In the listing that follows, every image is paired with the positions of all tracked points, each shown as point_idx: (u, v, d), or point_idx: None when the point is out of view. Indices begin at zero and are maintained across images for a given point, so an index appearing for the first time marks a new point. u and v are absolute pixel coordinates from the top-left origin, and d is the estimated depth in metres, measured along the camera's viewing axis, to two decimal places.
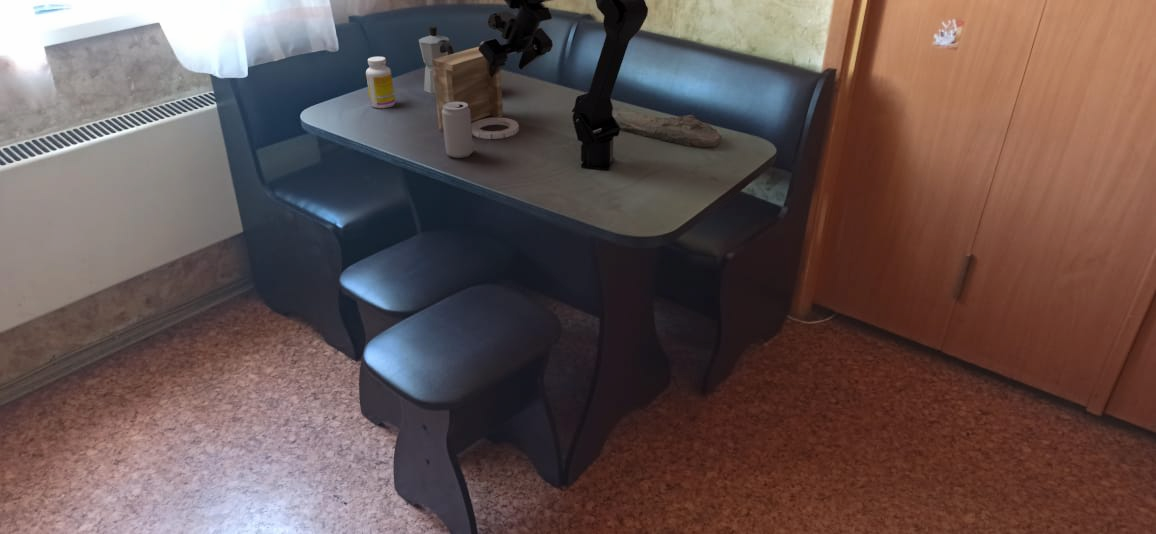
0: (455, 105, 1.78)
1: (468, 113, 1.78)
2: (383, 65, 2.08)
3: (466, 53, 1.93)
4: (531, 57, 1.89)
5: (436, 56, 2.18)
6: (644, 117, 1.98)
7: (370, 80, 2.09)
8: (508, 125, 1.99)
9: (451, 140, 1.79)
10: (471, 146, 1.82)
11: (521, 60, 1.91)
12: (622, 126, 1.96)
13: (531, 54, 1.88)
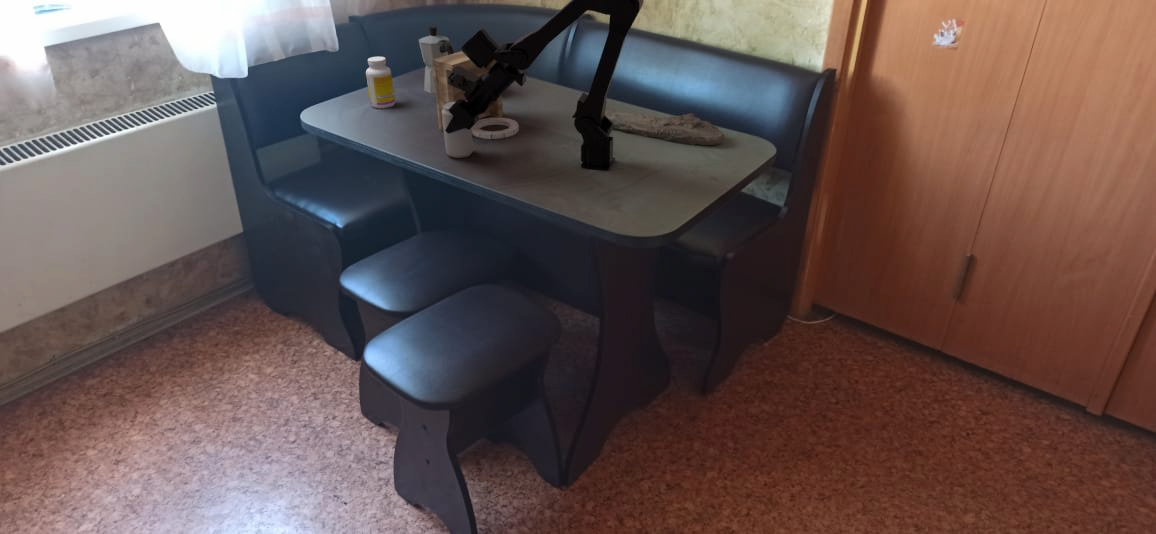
0: None
1: None
2: (383, 65, 2.08)
3: None
4: None
5: (435, 56, 2.18)
6: (643, 117, 1.97)
7: (370, 80, 2.09)
8: (508, 125, 1.99)
9: (451, 140, 1.79)
10: (471, 146, 1.82)
11: None
12: (622, 127, 1.95)
13: None
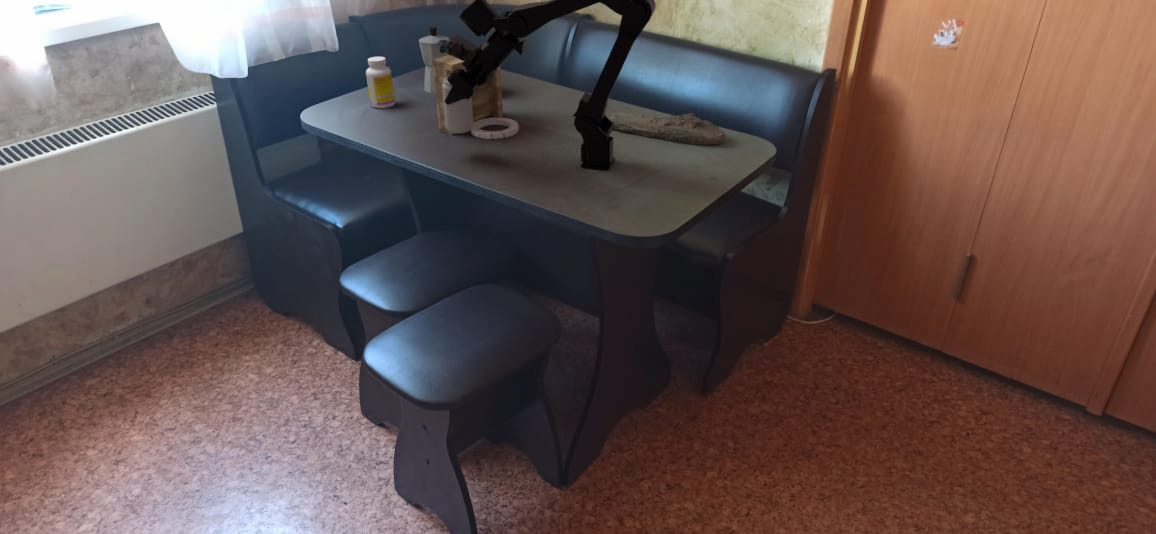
0: None
1: None
2: (383, 65, 2.08)
3: None
4: None
5: (436, 56, 2.18)
6: (642, 117, 1.97)
7: (370, 80, 2.09)
8: (508, 125, 1.99)
9: (452, 115, 1.76)
10: (471, 121, 1.80)
11: None
12: (622, 128, 1.95)
13: None
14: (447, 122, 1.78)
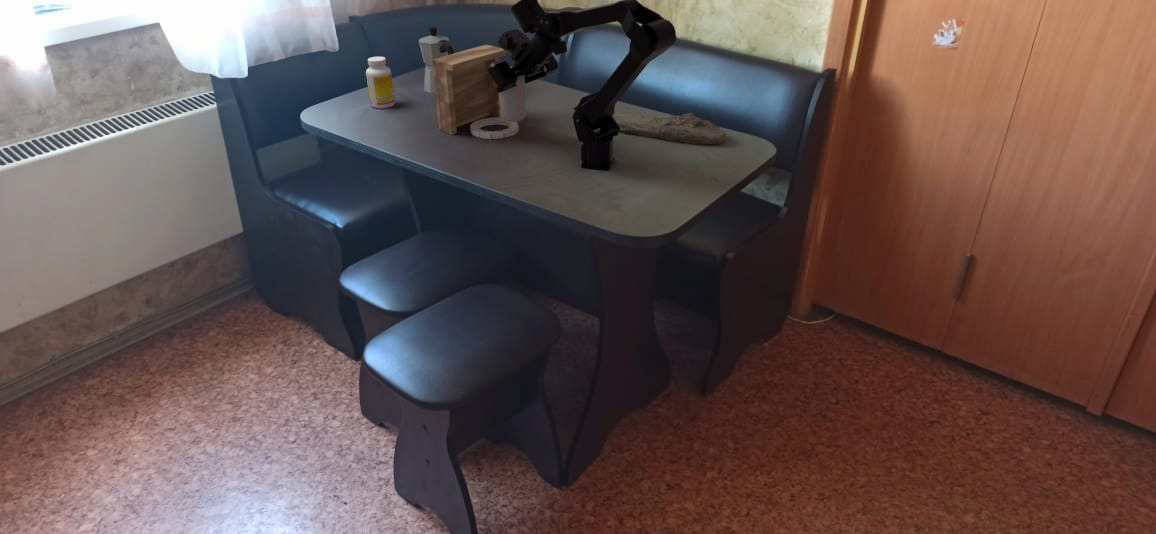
0: None
1: (520, 80, 1.84)
2: (383, 65, 2.08)
3: (466, 53, 1.93)
4: (531, 78, 1.87)
5: (436, 56, 2.18)
6: (642, 118, 1.97)
7: (370, 80, 2.09)
8: (508, 125, 1.99)
9: (502, 103, 1.87)
10: (521, 112, 1.88)
11: None
12: (622, 128, 1.94)
13: (531, 75, 1.86)
14: (500, 109, 1.90)
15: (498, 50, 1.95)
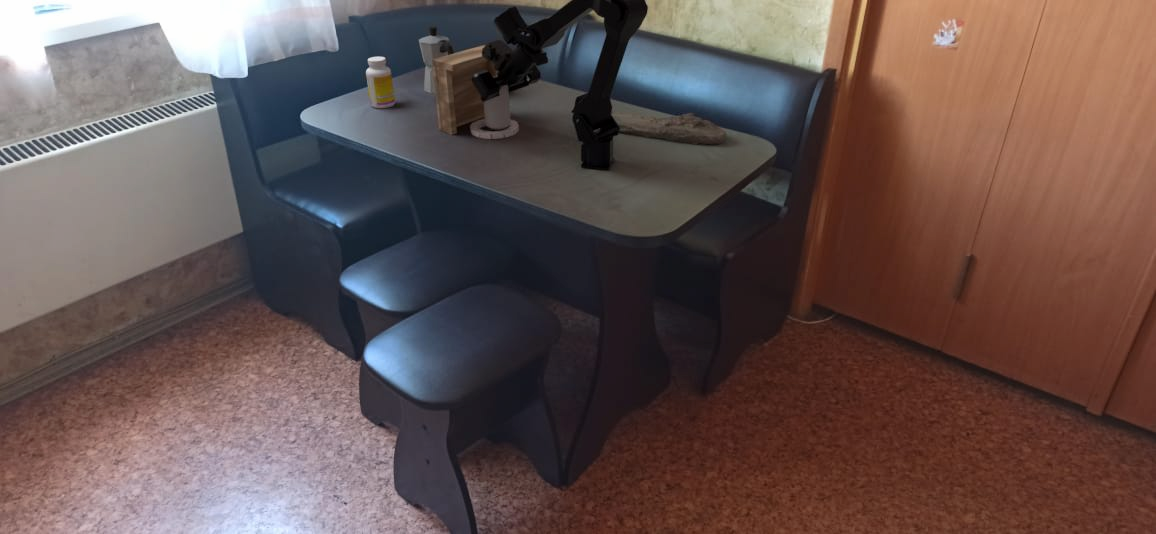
0: None
1: (503, 89, 1.89)
2: (383, 65, 2.08)
3: (466, 53, 1.93)
4: (514, 87, 1.92)
5: (435, 56, 2.18)
6: (641, 118, 1.97)
7: (370, 80, 2.09)
8: None
9: (486, 111, 1.92)
10: (506, 120, 1.93)
11: None
12: (622, 129, 1.94)
13: (515, 84, 1.91)
14: None
15: None
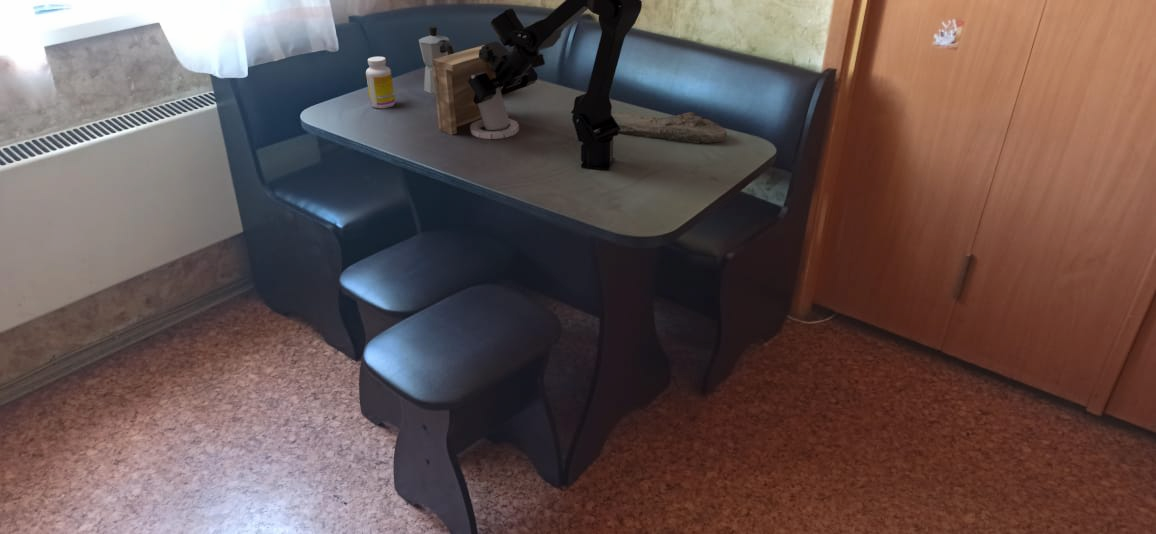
0: None
1: None
2: (383, 65, 2.08)
3: (466, 53, 1.93)
4: (515, 87, 1.94)
5: (436, 56, 2.18)
6: (641, 118, 1.97)
7: (370, 80, 2.09)
8: (508, 125, 1.99)
9: (483, 114, 1.93)
10: (504, 119, 1.94)
11: (504, 87, 1.96)
12: (623, 129, 1.94)
13: (515, 84, 1.93)
14: (483, 122, 1.95)
15: None
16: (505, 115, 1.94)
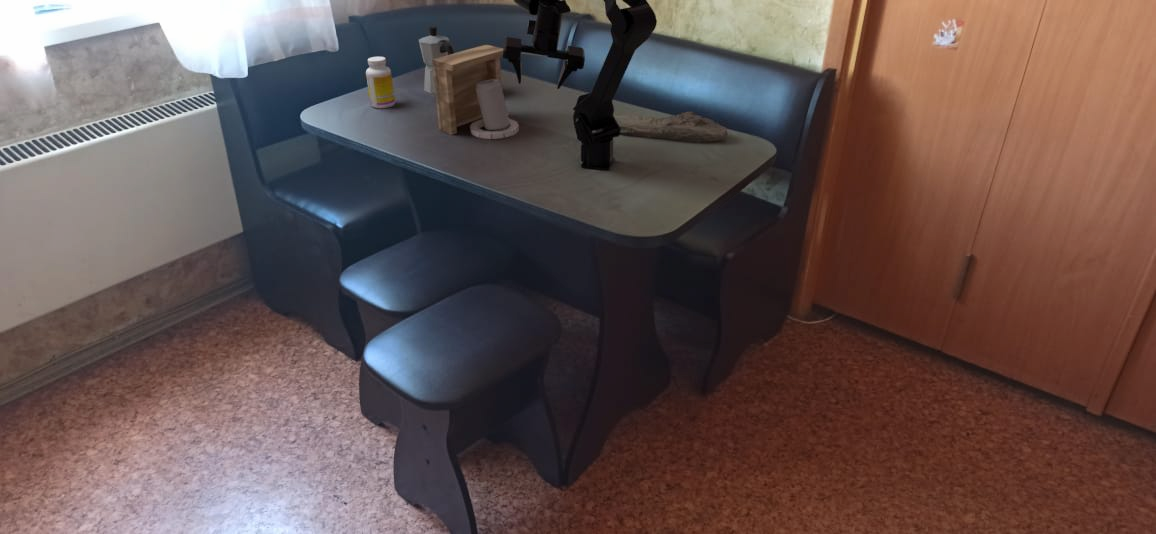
0: (487, 81, 1.92)
1: (496, 87, 1.90)
2: (383, 65, 2.08)
3: (466, 53, 1.93)
4: (562, 72, 1.81)
5: (435, 57, 2.18)
6: (640, 119, 1.96)
7: (370, 80, 2.09)
8: (508, 125, 1.99)
9: (484, 114, 1.93)
10: (504, 119, 1.94)
11: None
12: (623, 130, 1.93)
13: (563, 69, 1.81)
14: (483, 121, 1.95)
15: (498, 50, 1.95)
16: (506, 115, 1.94)
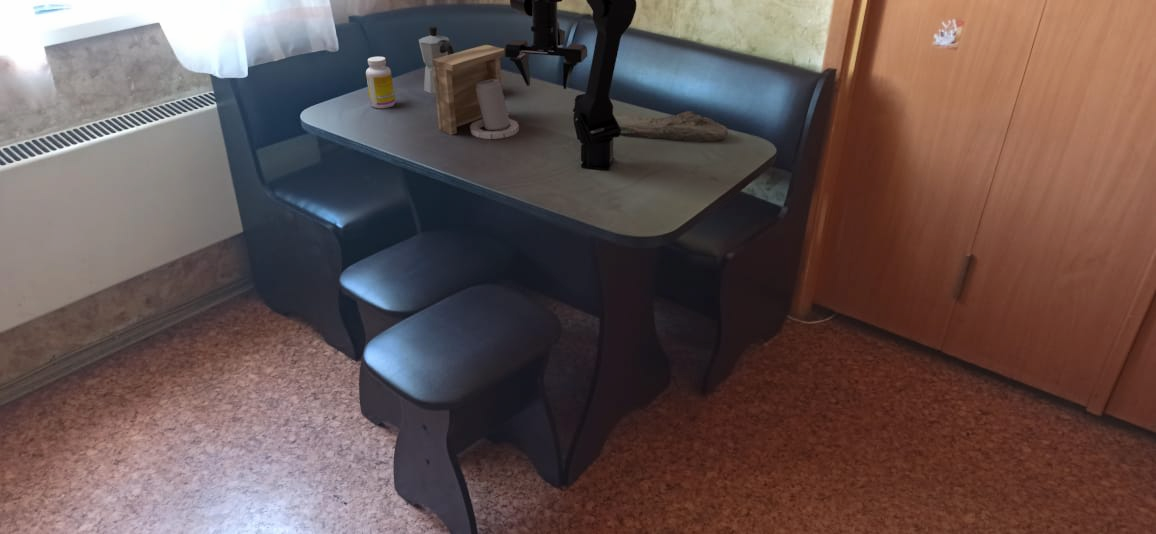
0: (487, 81, 1.92)
1: (496, 87, 1.90)
2: (383, 65, 2.08)
3: (466, 53, 1.93)
4: None
5: (436, 56, 2.18)
6: (640, 119, 1.96)
7: (370, 80, 2.09)
8: (508, 125, 1.99)
9: (484, 114, 1.93)
10: (504, 119, 1.94)
11: None
12: (624, 131, 1.93)
13: None
14: (483, 121, 1.95)
15: (498, 50, 1.95)
16: (506, 115, 1.94)
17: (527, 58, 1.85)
